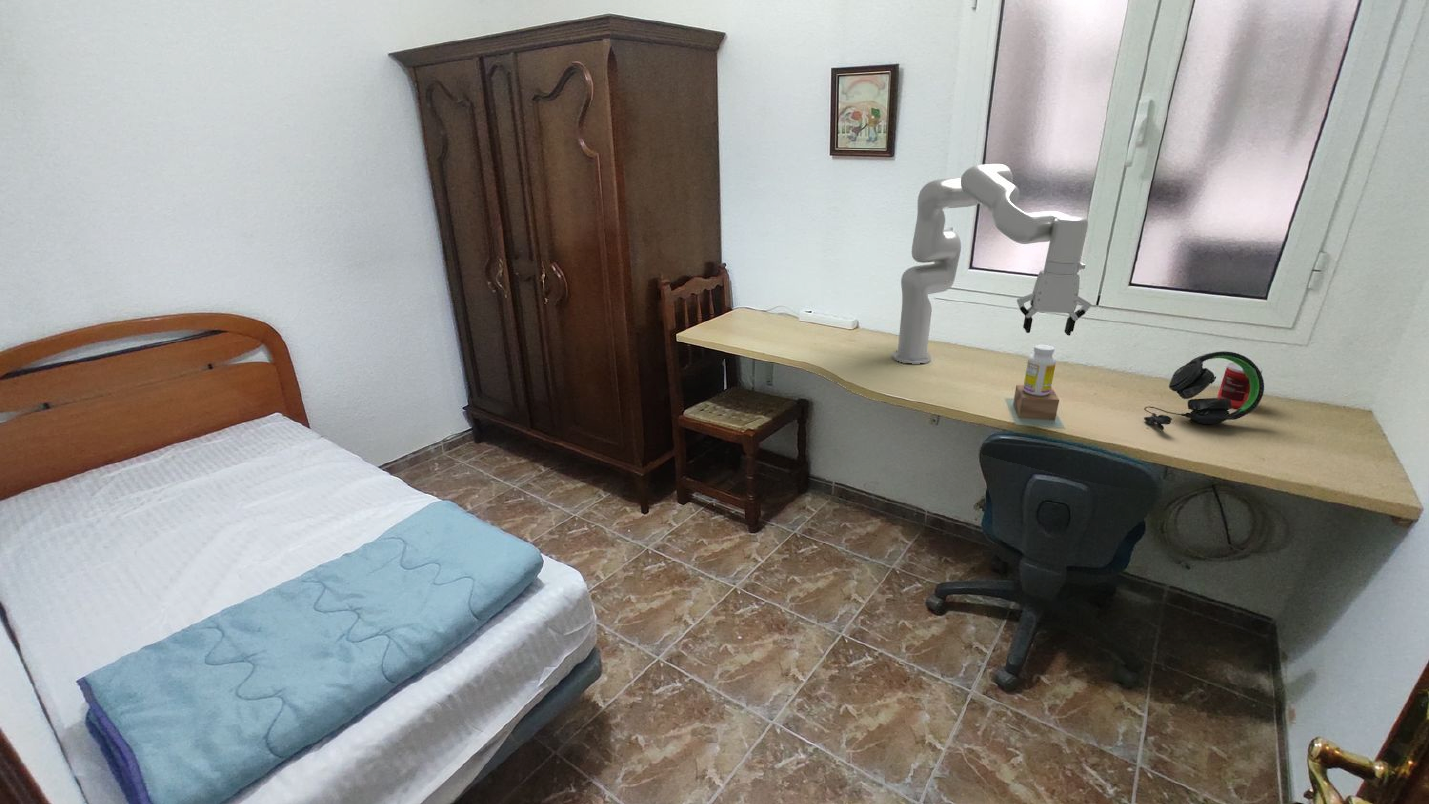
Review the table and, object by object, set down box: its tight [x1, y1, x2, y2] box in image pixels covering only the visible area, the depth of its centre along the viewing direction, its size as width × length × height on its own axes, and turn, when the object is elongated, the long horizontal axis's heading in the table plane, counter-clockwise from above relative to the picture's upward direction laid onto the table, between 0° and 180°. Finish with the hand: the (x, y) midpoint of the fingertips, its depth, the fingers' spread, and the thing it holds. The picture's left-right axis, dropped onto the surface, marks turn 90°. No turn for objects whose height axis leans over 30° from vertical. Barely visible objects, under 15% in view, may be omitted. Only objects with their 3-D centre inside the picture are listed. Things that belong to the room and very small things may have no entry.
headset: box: [1143, 350, 1265, 431], centre depth 166 cm, size 18×14×29 cm
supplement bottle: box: [1023, 344, 1057, 396], centre depth 171 cm, size 7×7×13 cm
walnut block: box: [1013, 384, 1060, 421], centre depth 175 cm, size 9×9×6 cm
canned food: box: [1216, 361, 1263, 410], centre depth 177 cm, size 8×8×11 cm
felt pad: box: [1004, 397, 1066, 429], centre depth 176 cm, size 18×12×1 cm, turn 166°
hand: (1047, 332), depth 167 cm, fingers open, 9 cm apart
